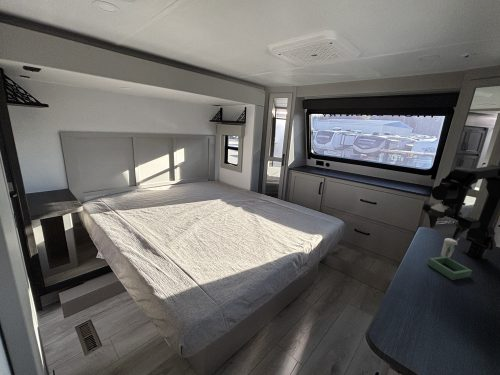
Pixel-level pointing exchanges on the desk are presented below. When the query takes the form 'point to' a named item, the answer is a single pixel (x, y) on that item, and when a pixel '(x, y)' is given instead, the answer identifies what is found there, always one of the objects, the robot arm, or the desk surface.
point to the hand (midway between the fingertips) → (442, 233)
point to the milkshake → (449, 247)
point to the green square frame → (460, 273)
